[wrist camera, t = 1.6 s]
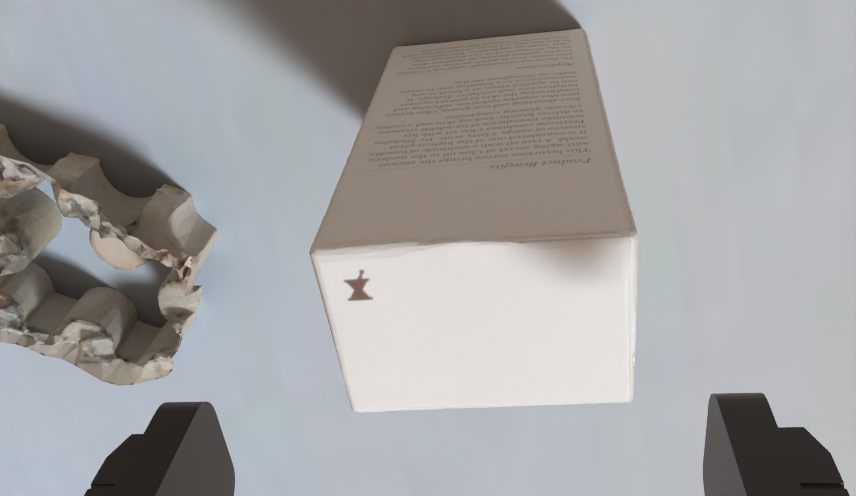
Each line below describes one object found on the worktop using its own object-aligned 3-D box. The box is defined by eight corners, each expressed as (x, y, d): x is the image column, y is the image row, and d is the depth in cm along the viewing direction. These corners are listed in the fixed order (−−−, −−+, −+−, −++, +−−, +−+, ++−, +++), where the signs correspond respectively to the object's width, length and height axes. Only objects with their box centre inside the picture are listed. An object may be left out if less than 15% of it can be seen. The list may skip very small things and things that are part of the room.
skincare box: (411, 167, 27) (341, 418, 17) (391, 43, 25) (298, 245, 15) (594, 153, 26) (638, 411, 16) (591, 24, 24) (639, 225, 14)
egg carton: (240, 202, 29) (202, 264, 25) (190, 347, 33) (151, 418, 29) (-55, 81, 27) (-138, 129, 24) (-71, 248, 31) (-144, 310, 28)
